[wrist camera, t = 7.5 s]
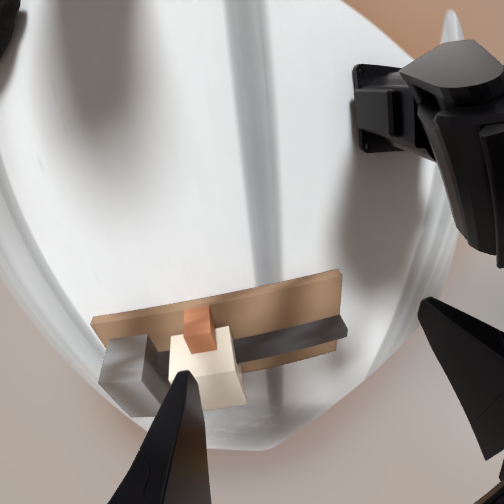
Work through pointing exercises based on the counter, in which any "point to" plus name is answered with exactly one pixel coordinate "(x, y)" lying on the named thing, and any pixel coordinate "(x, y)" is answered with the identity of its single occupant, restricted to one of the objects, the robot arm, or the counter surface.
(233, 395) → the sleeve
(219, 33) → the counter surface
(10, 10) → the tape measure
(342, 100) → the counter surface
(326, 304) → the board
